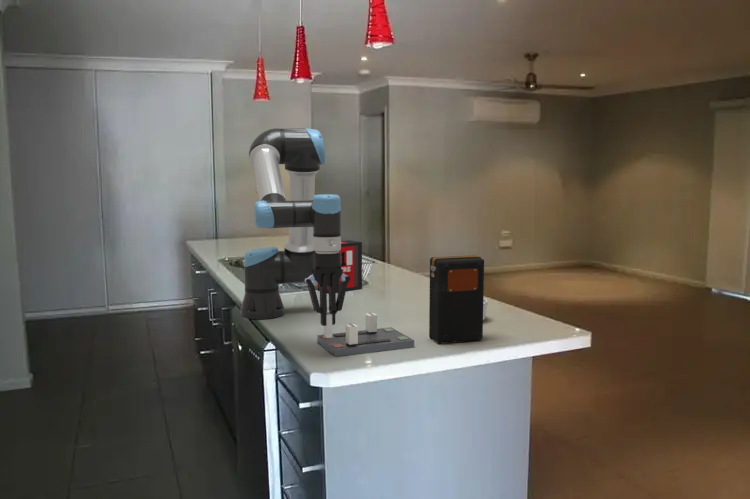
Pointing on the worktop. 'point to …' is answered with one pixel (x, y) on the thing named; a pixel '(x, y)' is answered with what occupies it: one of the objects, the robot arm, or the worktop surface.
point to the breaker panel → (366, 342)
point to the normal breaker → (371, 322)
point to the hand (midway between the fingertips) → (328, 336)
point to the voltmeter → (456, 298)
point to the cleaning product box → (350, 265)
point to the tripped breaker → (351, 334)
